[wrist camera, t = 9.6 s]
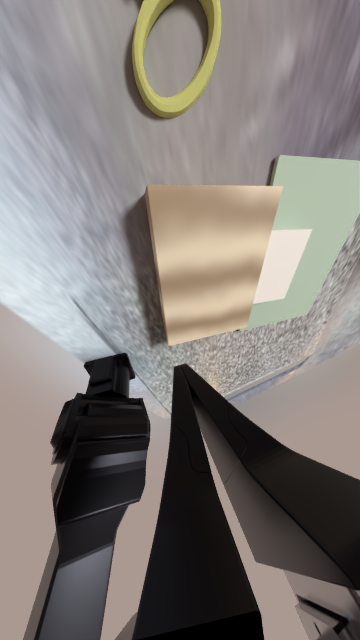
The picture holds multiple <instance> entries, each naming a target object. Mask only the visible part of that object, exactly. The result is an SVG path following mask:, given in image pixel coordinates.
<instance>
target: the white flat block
mask: <svg viewBox="0 0 360 640" xmlns="http://www.w3.org/2000/svg"><path fill="white" fill-rule="evenodd" d="M311 232H312V229H297V230H272V232H271V235H270V239H269V243H268V247H267V251H266V255H265V259H264V263H263V266H262V270H261V274H260V278H259V282H258V286H257V290H256V294H255V297H254V301H253V304H256V303H262V302H267V301H273V300H278V299H284V298H285V296H286V293H287V291H288V288H289V286H290V283H291V281H292V278H293V276H294V274H295V271H296V269H297V266H298V264H299V261H300V259H301V256H302V254H303V251H304V249H305V246H306V244H307V241H308V239H309V237H310V234H311Z"/></svg>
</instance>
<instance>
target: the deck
mask: <svg viewBox="0 0 360 640" xmlns="http://www.w3.org/2000/svg"><path fill="white" fill-rule="evenodd" d="M282 189H283V186H217V185H147V187H146V190H145V200H146V207H147V214H148V221H149V228H150V235H151V242H152V249H153V255H154V262H155V269H156V276H157V283H158V290H159V297H160V304H161V310H162V317H163V324H164V331H165V336H166V339H167V342H168V345H169V346H172V345H176V344H180V343H184V342H188V341H192V340H196V339H200V338H204V337H208V336H212V335H217V334H221V333H225V332H229V331H233V330H237V329H241V328H245V327H247V325H248V321H249V317H250V313H251V309H252V305H253V301H254V297H255V294H256V290H257V286H258V282H259V278H260V274H261V270H262V266H263V263H264V259H265V255H266V251H267V247H268V243H269V239H270V235H271V232H272V228H273V224H274V220H275V216H276V212H277V208H278V204H279V201H280V197H281V193H282Z"/></svg>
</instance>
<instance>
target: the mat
mask: <svg viewBox="0 0 360 640" xmlns="http://www.w3.org/2000/svg"><path fill="white" fill-rule="evenodd" d="M270 186H283V189H282V193H281V197H280V201H279V204H278V208H277V212H276V216H275V220H274V224H273V228H272V230H297V229H312V232H311V234H310V237H309V239H308V241H307V244H306V246H305V249H304V251H303V254H302V256H301V259H300V261H299V264H298V266H297V269H296V271H295V274H294V276H293V278H292V281H291V283H290V286H289V288H288V291H287V293H286V296H285V298H284V299H278V300H273V301H267V302H262V303H256V304H253V305H252V309H251V313H250V317H249V321H248V325H247V327H245V328H241V329H238V330H239V331H243V330H247V329H251V328H255V327H259V326H263V325H267V324H271V323H275V322H279V321H283V320H287V319H291V318H295V317H299V316H303V315H307V314H308V312H309V310H310V308H311V306H312V304H313V302H314V300H315V298H316V296H317V294H318V292H319V290H320V288H321V287H322V285H323V283H324V281H325V279H326V277H327V275H328V273H329V271H330V269H331V267H332V265H333V263H334V261H335V260H336V258H337V256H338V254H339V252H340V250H341V248H342V246H343V244H344V242H345V240H346V238H347V236H348V235H349V233H350V231H351V229H352V227H353V225H354V223H355V221H356V219H357V217H358V215H359V213H360V161H356V160H342V159H327V158H313V157H299V156H285V155H279V156H277V157H276V158H275V163H274V167H273V172H272V176H271V181H270Z"/></svg>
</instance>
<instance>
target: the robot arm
mask: <svg viewBox="0 0 360 640" xmlns="http://www.w3.org/2000/svg"><path fill="white" fill-rule="evenodd" d="M84 368H85V369H86V370H87V372H88V374H89V375H90V379H89V384H88V388H87V391H86V394H82V393H77V394H76V396H75V398H74V399H72V400H70V401H67V402H66V403H65V404H64V406H63V409H62V411H61V414H60V416H59V419H58V422H57V425H56V427H55V430H54V433H53V436H52V439H51V442H50V443H51V445H52V447H53V448H54V449H53V458H52V462H51V464H52V465H53V464H58V465H57V468H56V471H55V474H54V476H53V479H52V483H51V490H52V500H53V507H54V516H55V524H56V533H55V536H54V540H53V543H52V546H51V550H50V553H49V556H48V559H47V563H46V566H45V569H44V573H43V576H42V579H41V583H40V586H39V589H38V592H37V596H36V599H35V602H34V605H33V609H32V612H31V615H30V618H29V622H28V625H27V629H26V632H25V635H24V638H23V640H100V637H101V631H102V624H103V618H104V611H105V604H106V598H107V591H108V584H109V578H110V571H111V564H112V557H113V551H114V544H115V538H116V533H117V529H118V527H119V524H120V522H121V520H122V518H123V516H124V514H125V512H126V510H127V508H128V506H129V505H130V504H133V503H136V502H139V501H140V499H141V496H142V493H143V490H144V486H145V476H146V458H147V450H148V446H149V442H150V421H149V418H148V414H147V411H146V408H145V405H144V402H143V398H129V380H132V379H134V378H135V374H134V371H133V368H132V365H131V363H130V360H129V357H128V355H127V354H126V353H122V354H118V355H114V356H110V357H106V358H101V359H97V360H93V361H89V362H86V363H85V364H84ZM200 430H201V431H200ZM170 431H171V432H170V443H169V451H168V459H167V465H166V472H165V478H164V484H163V491H162V497H161V503H160V509H159V515H158V520H157V525H156V530H155V535H154V539H153V544H152V549H151V554H150V558H149V563H148V567H147V572H146V577H145V581H144V585H143V590H142V595H141V600H140V604H139V608H138V612H137V613H136V614H134V616H133V617H132V618H131V619H130V621H129V622H128V623H127V624H126V626H125V627H124V628H123V630H122V631H121V632H120V634H119V635H118V636H117V638H116V639H115V640H264V635H263V627H262V618H261V613H260V611H259V608H258V605H257V602H256V599H255V597H254V594H253V591H252V588H251V586H250V583H249V580H248V577H247V574H246V572H245V569H244V566H243V563H242V561H241V558H240V555H239V552H238V549H237V547H236V544H235V541H234V538H233V536H232V533H231V530H230V527H229V524H228V522H227V519H226V516H225V513H224V511H223V508H222V505H221V502H220V499H219V497H218V493H217V490H216V487H215V483H214V480H213V476H212V474H211V469H210V465H209V461H208V457H207V454H206V450H205V446H204V442H203V439H202V435H201V432H202V434H203V437H204V439H205V441H206V444H207V446H208V449H209V451H210V454H211V456H212V458H213V461H214V463H215V465H216V467H217V470H218V473H219V475H220V477H221V480H222V482H223V484H224V487H225V489H226V492H227V494H228V497H229V499H230V501H231V504H232V506H233V508H234V511H235V513H236V516H237V518H238V520H239V523H240V525H241V528H242V530H243V532H244V535H245V537H246V539H247V542H248V544H249V547H250V549H251V551H252V554H253V556H254V559H255V561H256V562H258V563H261V564H265V565H268V566H272V567H275V568H279V569H283V570H284V572H285V575H286V577H287V579H288V581H289V583H290V586H291V588H292V590H293V592H294V594H295V597H296V599H297V601H298V604H297V605H296V606H295V607H296V610H297V612H298V615H299V617H300V619H301V622H302V624H303V626H304V628H305V631H306V633H307V635H308V637H309V639H310V640H360V480H359V479H356V478H354V477H351V476H349V475H347V474H344V473H342V472H340V471H338V470H335V469H333V468H331V467H328V466H326V465H324V464H322V463H319V462H317V461H315V460H312V459H310V458H307V457H306V456H303V455H301V454H299V453H296V452H294V451H293V450H291V449H289V448H287V447H286V446H284V445H283V444H281V443H280V442H278V441H277V440H276V439H275V438H273V437H272V436H271V435H269V434H268V433H266V432H265V431H264V430H263V429H261V428H260V427H259V426H257V425H256V424H255V423H253V422H252V421H250V420H249V419H248V418H247V417H246V416H244V415H243V414H242V413H241V412H240V411H238V410H237V409H236V408H235V407H234V406H233V405H232V404H231V403H229V402H228V401H227V400H226V399H225V398H224V397H223V396H222V395H220V394H219V393H218V392H217V391H216V390H215V389H214V388H213V387H212V386H210V385H209V384H208V383H207V382H206V381H205V380H204V379H203V378H202V377H201V376H199V375H198V374H197V373H196V372H195V371H194V370H193V369H192V368H191V367H189V366H188V365H187V364H182V365H178V366H175V367H174V376H173V394H172V413H171V430H170Z"/></svg>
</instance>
